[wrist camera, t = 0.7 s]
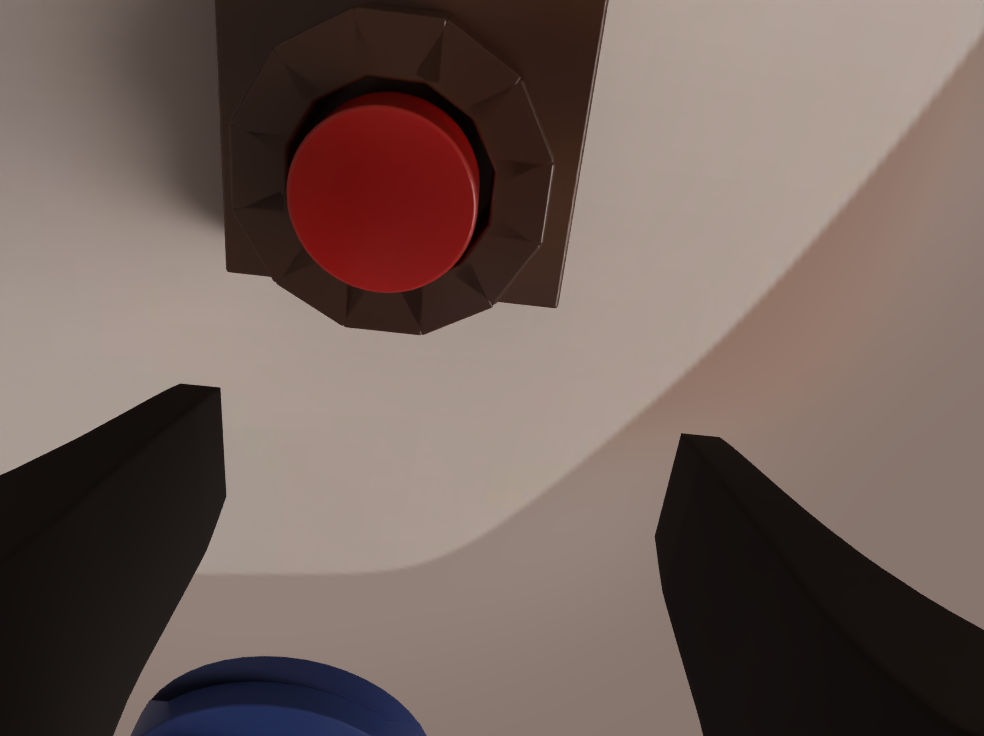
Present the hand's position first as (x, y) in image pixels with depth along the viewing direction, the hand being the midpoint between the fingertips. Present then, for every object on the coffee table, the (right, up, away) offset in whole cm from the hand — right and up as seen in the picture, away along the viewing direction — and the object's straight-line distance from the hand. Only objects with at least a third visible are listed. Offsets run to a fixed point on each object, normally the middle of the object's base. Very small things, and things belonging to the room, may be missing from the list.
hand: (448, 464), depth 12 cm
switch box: (-1, +9, +6) cm, 11 cm away
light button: (-1, +5, +4) cm, 7 cm away
